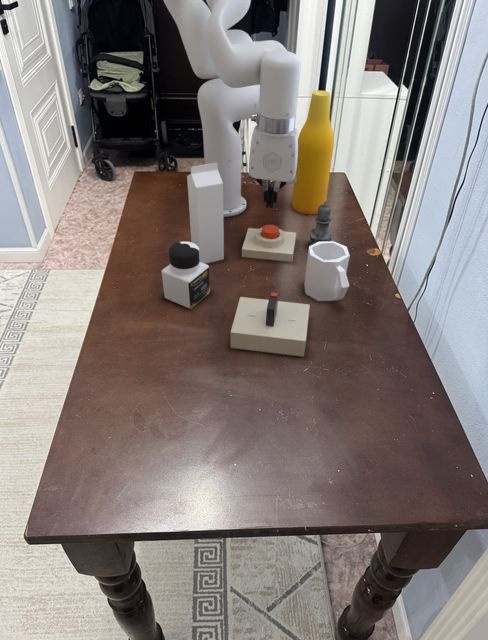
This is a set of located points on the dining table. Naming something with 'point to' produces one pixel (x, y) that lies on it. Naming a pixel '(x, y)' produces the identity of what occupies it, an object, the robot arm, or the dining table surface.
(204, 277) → the medicine bottle
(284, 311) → the beige flat block
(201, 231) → the milk
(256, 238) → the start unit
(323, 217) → the gray chess piece
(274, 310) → the knob
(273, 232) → the button
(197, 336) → the dining table surface
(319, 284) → the mug
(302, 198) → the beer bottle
